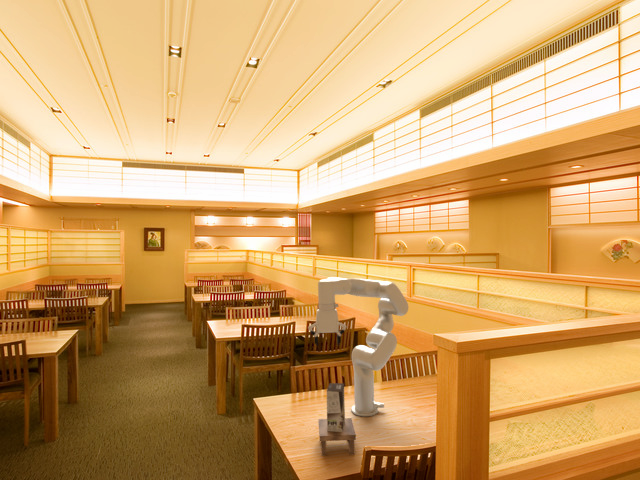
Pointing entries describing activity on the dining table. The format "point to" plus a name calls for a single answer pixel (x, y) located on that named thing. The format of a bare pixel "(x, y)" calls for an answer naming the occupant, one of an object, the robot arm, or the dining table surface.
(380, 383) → the dining table surface
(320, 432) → the stool
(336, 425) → the coffee box
